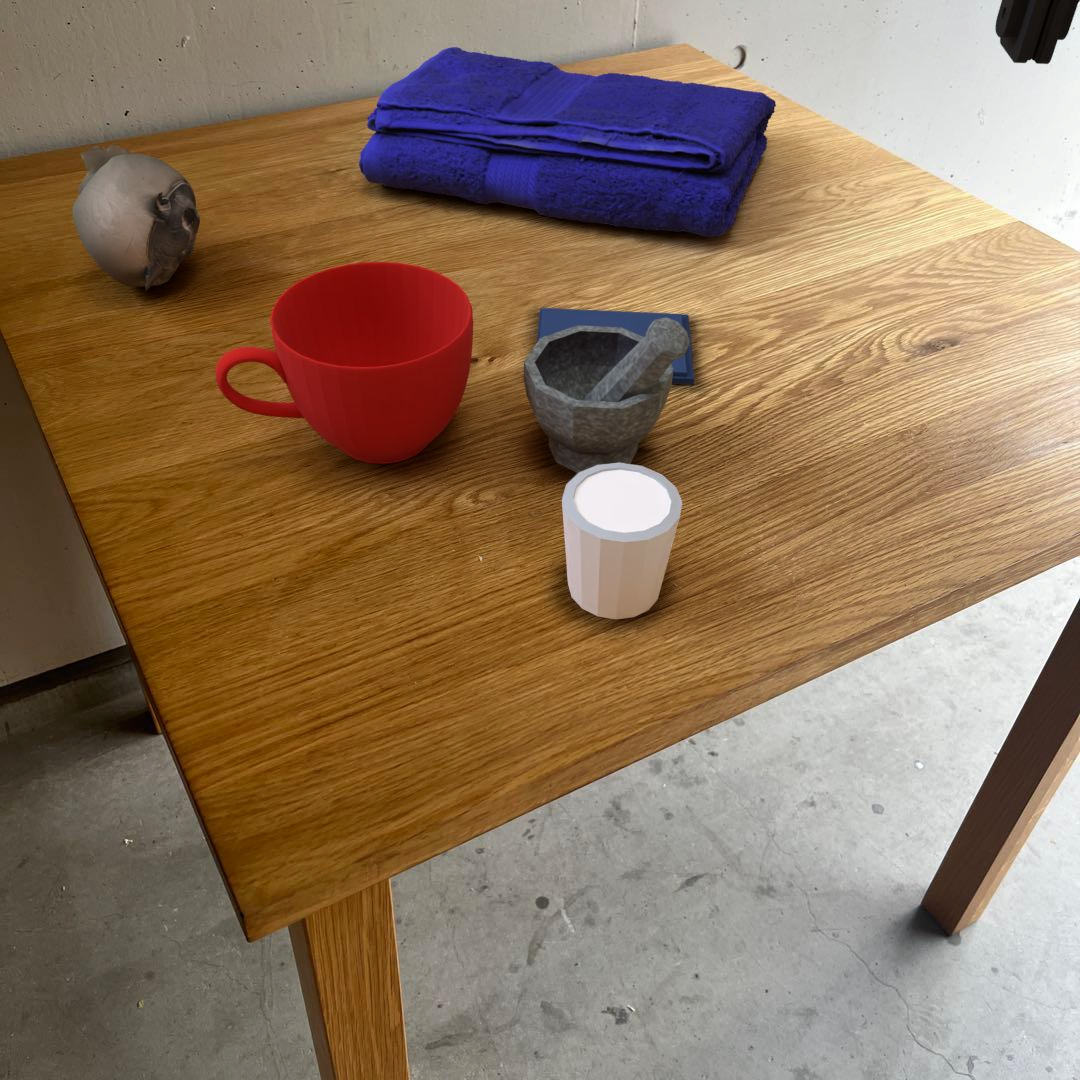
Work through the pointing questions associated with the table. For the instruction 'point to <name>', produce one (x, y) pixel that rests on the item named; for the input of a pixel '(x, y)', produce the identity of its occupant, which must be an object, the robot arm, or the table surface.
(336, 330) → the ceramic cup
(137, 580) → the table surface
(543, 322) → the blue flat slab
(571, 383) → the mortar and pestle
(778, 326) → the table surface
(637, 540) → the beige tapered cup
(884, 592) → the table surface
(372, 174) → the towel
